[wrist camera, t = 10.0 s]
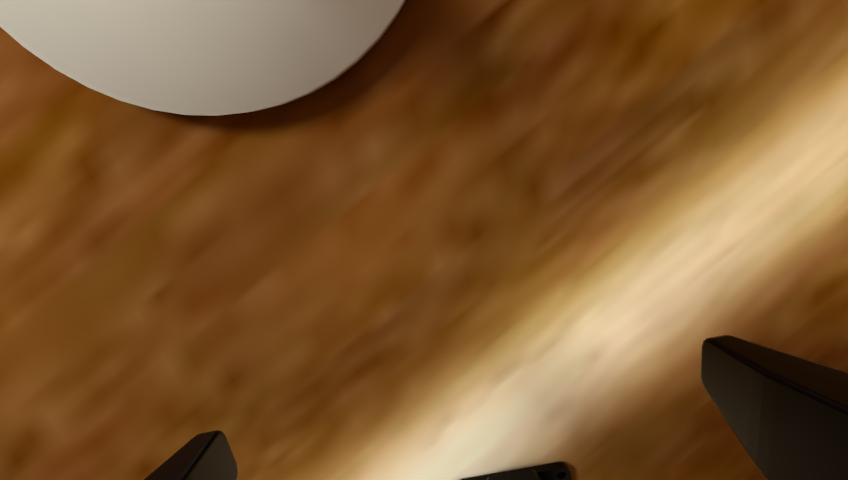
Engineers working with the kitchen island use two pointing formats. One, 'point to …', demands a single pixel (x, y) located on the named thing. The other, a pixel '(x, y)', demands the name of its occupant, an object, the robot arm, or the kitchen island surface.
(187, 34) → the white plate
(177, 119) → the kitchen island surface
